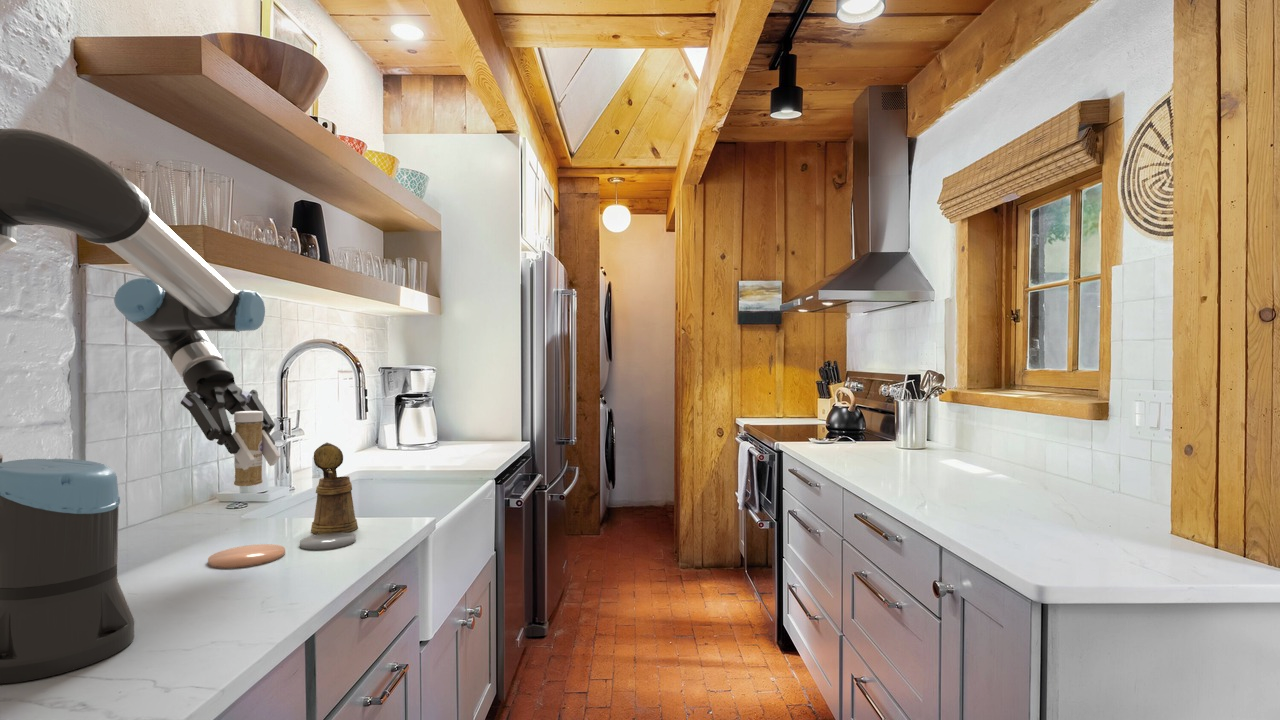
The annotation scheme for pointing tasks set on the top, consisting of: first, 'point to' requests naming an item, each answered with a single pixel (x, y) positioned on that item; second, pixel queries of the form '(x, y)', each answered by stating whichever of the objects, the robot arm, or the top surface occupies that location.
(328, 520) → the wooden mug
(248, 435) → the sprinkles bottle
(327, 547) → the slate coaster
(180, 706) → the top surface
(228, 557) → the terracotta coaster
